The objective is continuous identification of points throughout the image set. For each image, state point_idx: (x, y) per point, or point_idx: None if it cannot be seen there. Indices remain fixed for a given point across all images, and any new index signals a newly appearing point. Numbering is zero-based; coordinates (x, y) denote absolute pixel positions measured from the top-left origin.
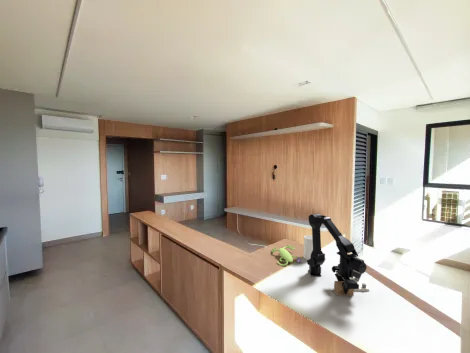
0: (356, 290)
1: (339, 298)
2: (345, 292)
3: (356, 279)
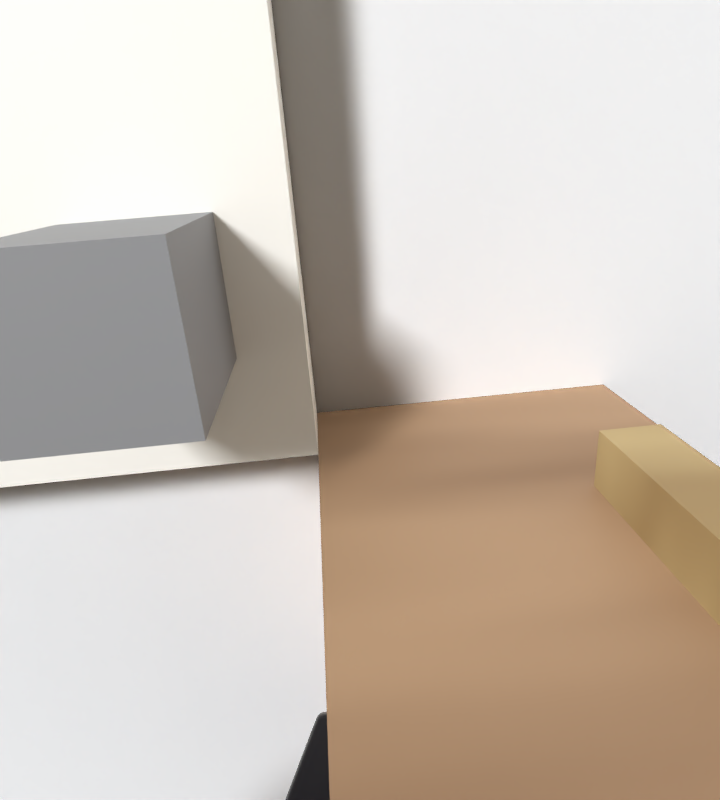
0: (278, 84)
1: None
2: None
3: None
